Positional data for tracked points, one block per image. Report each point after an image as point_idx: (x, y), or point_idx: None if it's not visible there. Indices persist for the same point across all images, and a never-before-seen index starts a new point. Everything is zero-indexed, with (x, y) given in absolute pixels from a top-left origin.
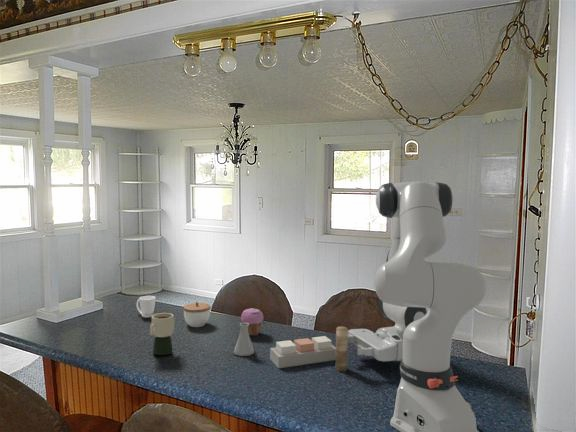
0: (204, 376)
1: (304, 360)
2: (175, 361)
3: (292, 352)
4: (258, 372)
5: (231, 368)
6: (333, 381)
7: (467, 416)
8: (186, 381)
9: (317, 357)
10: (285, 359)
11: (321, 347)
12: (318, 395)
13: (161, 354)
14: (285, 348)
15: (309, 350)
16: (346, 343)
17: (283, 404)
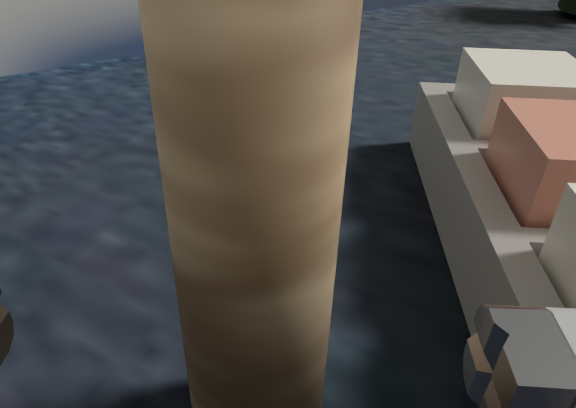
0: (395, 34)
1: (443, 208)
2: (522, 21)
3: (471, 119)
4: (384, 97)
5: (445, 67)
6: (100, 265)
7: None
8: (373, 19)
9: (473, 274)
10: (422, 117)
11: (565, 260)
12: (36, 161)
13: (558, 5)
14: (466, 67)
15: (512, 191)
16: (162, 169)
17: (88, 86)
